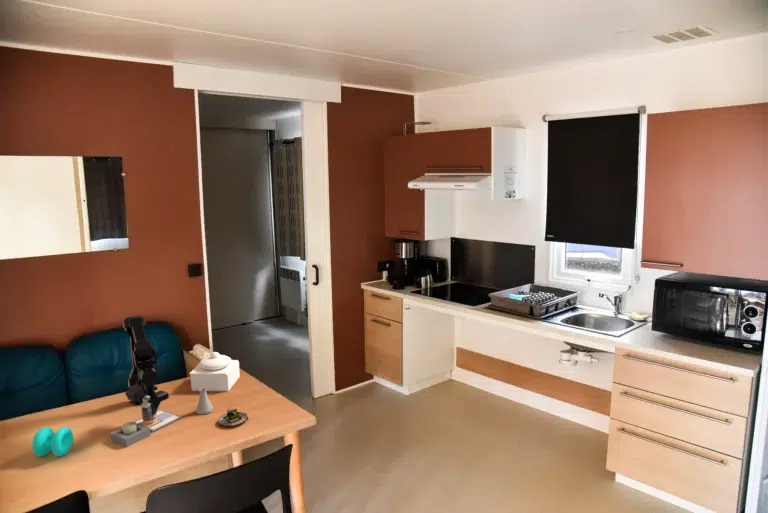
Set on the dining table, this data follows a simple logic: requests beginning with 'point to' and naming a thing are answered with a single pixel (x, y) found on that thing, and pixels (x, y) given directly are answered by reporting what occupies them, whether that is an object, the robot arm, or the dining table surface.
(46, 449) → the donuts
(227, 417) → the plate of food
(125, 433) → the button
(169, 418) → the colouring board
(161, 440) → the dining table surface
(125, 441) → the button housing
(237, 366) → the butter dish
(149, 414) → the pill bottle
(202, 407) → the flask
